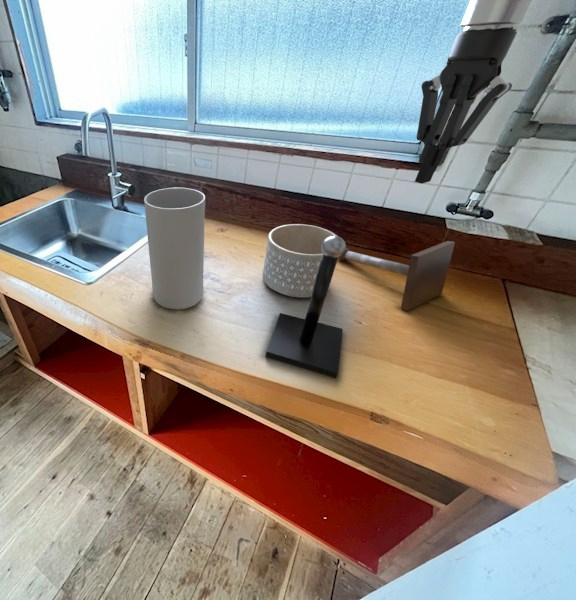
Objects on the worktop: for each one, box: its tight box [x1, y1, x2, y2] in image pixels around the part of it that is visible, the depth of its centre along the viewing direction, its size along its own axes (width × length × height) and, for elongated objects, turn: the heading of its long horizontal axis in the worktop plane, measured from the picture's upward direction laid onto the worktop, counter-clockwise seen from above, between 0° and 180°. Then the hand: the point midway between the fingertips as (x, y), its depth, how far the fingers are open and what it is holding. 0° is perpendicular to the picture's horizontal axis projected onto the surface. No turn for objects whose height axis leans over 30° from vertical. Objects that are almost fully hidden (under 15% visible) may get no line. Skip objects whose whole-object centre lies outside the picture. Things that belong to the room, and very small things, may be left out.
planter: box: [262, 223, 338, 298], centre depth 80 cm, size 16×16×13 cm
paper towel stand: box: [338, 240, 456, 312], centre depth 80 cm, size 25×13×13 cm, turn 27°
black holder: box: [264, 235, 347, 379], centre depth 60 cm, size 25×13×13 cm
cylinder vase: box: [143, 187, 206, 310], centre depth 73 cm, size 12×12×25 cm
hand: (422, 181), depth 65 cm, fingers closed
